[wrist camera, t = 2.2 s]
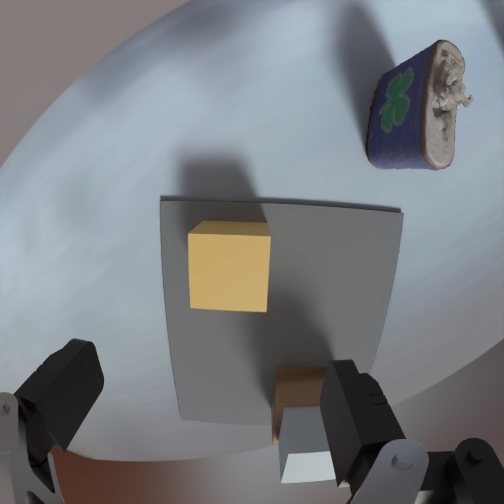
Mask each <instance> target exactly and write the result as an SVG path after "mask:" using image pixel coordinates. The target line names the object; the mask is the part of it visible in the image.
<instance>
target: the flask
mask: <svg viewBox="0 0 504 504" xmlns="http://www.w3.org/2000/svg"><path fill="white" fill-rule="evenodd" d="M464 71H465V62H464V58H463V57H462V55H461V52H460V51H459V49H458V48H457V47H456V46H455V45H454V44H452V43H451V42H449V41H446V40H438V41H436V42H435V43H434V44H432V45H431V46H429V47H428V48H426V49H425V50H423V51H421V52H419V53H418V54H416V55H415V56H413V57H412V58H410V59H408V60H407V61H405V62H403V63H401V64H400V65H399V66H397V67H396V68H394V69H392V70H391V71H389V72H387V73H386V74H384V75H383V76H382V78H381V79H380V80H379V82H378V86H377V88H376V90H375V92H374V93H375V94H374V96H373V99H372V105H371V107H370V110H371V112H370V113H371V114H370V117H369V125H368V132H367V133H368V134H367V142H366V150H367V157H368V160H369V162H370V163H371V164H372V165H373V166H375V167H377V168H378V169H394V168H395V169H406V168H412V169H430V170H435V171H437V170H439V169H445V168H446V167H448V166H450V165H451V163H452V160H453V156H454V142H455V123H456V111H457V105H460V104H461V102H462V104H463V106H464V107H469V106H470V103H471V102H472V101H473V98H472V95H470V97H469V98H466V97H465V96H464V90H465V85H464V84H463V83H462V75H463V73H464Z"/></svg>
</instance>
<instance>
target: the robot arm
mask: <svg viewBox="0 0 504 504" xmlns="http://www.w3.org/2000/svg"><path fill="white" fill-rule="evenodd" d="M103 386H104V376H103V372H102V369H101V366H100V362H99V359H98V355H97V352H96V348H95V345H94V344H93V343H92V342H90V341H85V340H80V339H75V338H74V339H72V340H70V341H69V342H68V343H67V344H66V345H65V346H64V347H63V349H60V350H58V351H57V352H55V353H53V354H51V355H50V356H49V357H48V358H47V359H46V360H45V361H44V362H43V365H40V366H39V367H38V368H37V371H35V372H34V373H33V374H32V375H31V376H30V377H29V378H28V379H27V380H26V381H25V382H24V383H23V384H22V385H21V387H20V388H19V389H18V390H17V391H16V392H15V393H14V394H13V395H12V394H10V393H6V392H2V393H0V504H65V502H64V501H63V498H62V495H61V491H60V488H59V484H58V480H57V476H56V472H55V467H54V462H53V457H52V455H51V453H50V450H51V449H52V447H54V448H56V449H58V450H60V451H63V452H65V451H66V449H67V447H68V446H69V444H70V442H71V440H72V439H73V437H74V435H75V434H76V432H77V430H78V429H79V427H80V425H81V424H82V422H83V420H84V419H85V417H86V416H87V414H88V412H89V411H90V409H91V407H92V406H93V404H94V403H95V401H96V400H97V398H98V396H99V395H100V393H101V392H102V389H103ZM320 411H321V416H322V420H323V424H324V428H325V432H326V437H327V441H328V445H329V450H330V454H331V459H332V463H333V468H334V472H335V477H336V481H337V486H338V488H342V487H348V486H350V490H351V494H352V495H351V496H350V498H349V499H348V501H347V502H346V504H504V468H503V466H502V465H501V463H500V461H499V459H498V457H497V456H496V454H495V452H494V450H493V449H492V447H491V446H490V445H489V444H488V443H487V442H486V441H484V440H482V439H478V438H469V439H466V440H464V441H462V442H461V443H460V444H459V445H458V446H457V448H456V449H455V450H454V451H446V452H427V451H426V450H425V448H424V447H423V446H422V445H420V444H419V443H417V442H415V441H412V440H408V439H406V438H405V436H404V433H403V432H402V430H401V427H400V425H399V423H398V421H397V419H396V417H395V415H394V413H393V411H392V409H391V407H390V405H389V404H388V401H387V399H386V397H385V395H383V391H382V390H381V388H380V386H379V384H378V382H377V381H376V380H375V379H374V378H372V377H371V376H370V375H369V374H368V373H359V372H358V369H357V367H356V365H355V363H354V361H353V360H352V359H346V360H330V361H329V362H328V364H327V368H326V373H325V377H324V382H323V386H322V390H321V395H320Z"/></svg>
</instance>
